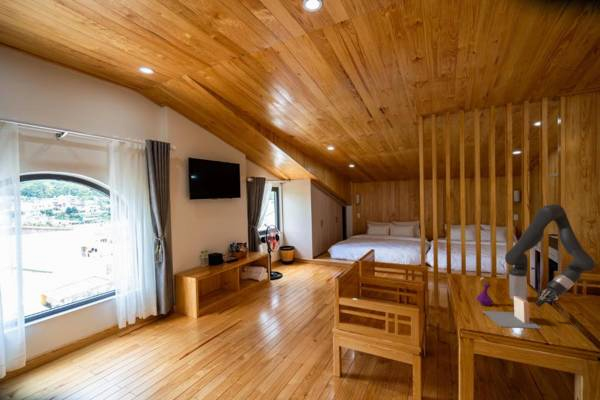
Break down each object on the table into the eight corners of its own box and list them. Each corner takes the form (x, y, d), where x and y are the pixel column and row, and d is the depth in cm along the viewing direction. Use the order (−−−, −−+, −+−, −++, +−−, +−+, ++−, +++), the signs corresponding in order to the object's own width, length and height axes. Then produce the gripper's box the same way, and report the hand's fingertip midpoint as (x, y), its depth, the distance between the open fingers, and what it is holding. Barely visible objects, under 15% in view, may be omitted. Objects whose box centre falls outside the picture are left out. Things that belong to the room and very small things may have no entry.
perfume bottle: (489, 302, 178) (487, 276, 178) (493, 307, 171) (492, 279, 171) (476, 301, 180) (475, 275, 180) (480, 306, 173) (479, 279, 173)
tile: (514, 316, 156) (513, 296, 157) (519, 316, 156) (518, 296, 156) (524, 323, 148) (523, 301, 148) (529, 323, 147) (528, 302, 147)
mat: (482, 311, 165) (482, 311, 165) (518, 313, 161) (518, 312, 161) (500, 326, 145) (500, 326, 145) (542, 329, 141) (542, 328, 141)
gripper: (546, 276, 155) (523, 296, 157) (564, 283, 142) (539, 304, 144) (556, 285, 154) (534, 305, 156) (576, 293, 141) (550, 315, 143)
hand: (536, 305), depth 150 cm, fingers closed
